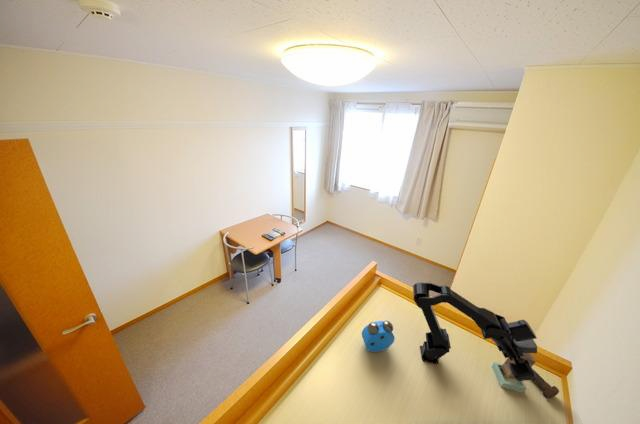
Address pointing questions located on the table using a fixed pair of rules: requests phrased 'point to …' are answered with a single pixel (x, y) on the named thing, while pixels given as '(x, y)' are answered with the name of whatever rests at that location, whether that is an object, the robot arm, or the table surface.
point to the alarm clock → (378, 336)
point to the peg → (507, 367)
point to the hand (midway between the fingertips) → (522, 364)
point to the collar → (518, 387)
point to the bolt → (546, 387)
